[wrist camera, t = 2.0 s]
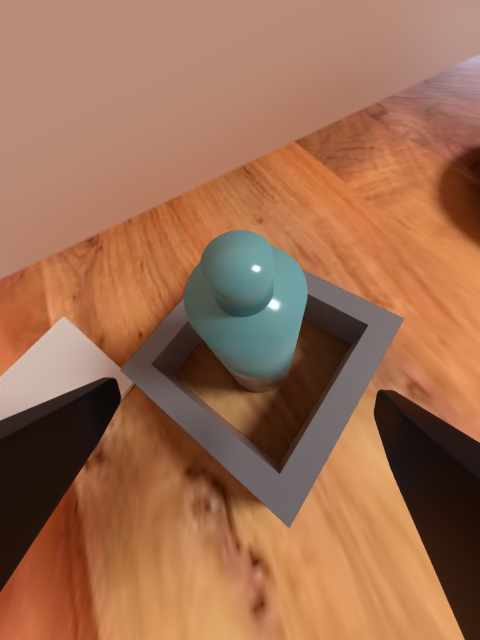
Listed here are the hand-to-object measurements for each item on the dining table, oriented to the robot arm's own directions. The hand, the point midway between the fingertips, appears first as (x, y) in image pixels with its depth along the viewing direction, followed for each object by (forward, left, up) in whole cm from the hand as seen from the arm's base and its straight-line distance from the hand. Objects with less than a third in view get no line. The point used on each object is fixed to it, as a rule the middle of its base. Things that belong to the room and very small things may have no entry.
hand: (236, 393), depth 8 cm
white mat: (-10, +15, -11) cm, 21 cm away
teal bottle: (+3, +2, -11) cm, 11 cm away
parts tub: (+3, +2, -11) cm, 11 cm away
